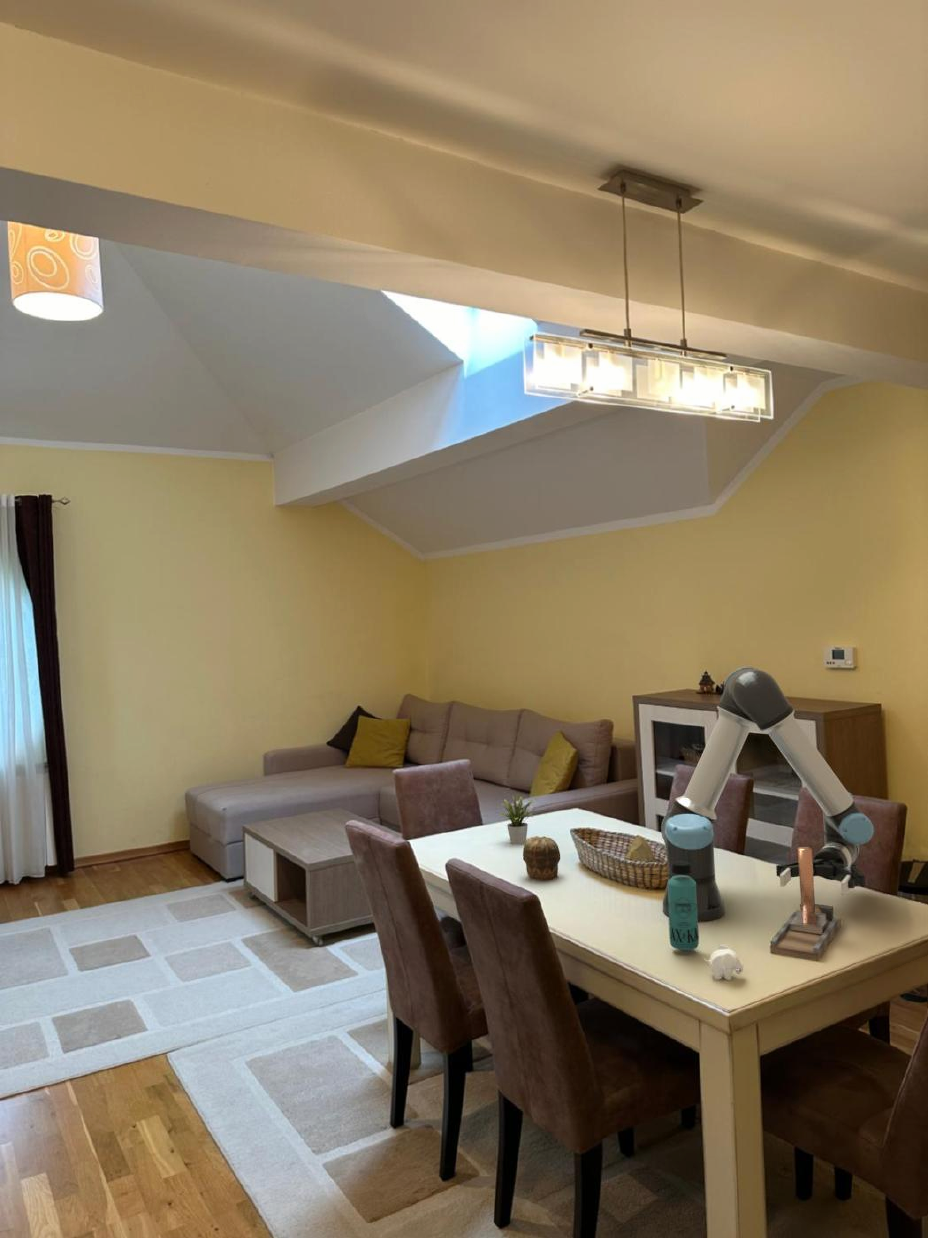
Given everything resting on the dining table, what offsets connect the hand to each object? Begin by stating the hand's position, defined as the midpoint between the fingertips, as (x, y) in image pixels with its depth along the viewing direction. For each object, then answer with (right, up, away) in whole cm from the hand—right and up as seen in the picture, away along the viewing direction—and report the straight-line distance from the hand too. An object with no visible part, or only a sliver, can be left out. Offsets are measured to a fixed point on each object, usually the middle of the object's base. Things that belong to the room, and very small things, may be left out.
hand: (811, 884), depth 199 cm
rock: (-28, -13, +56) cm, 64 cm away
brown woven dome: (-58, -15, +54) cm, 81 cm away
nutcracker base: (-2, -11, -4) cm, 12 cm away
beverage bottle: (-31, -13, -7) cm, 35 cm away
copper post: (-1, -9, -2) cm, 10 cm away
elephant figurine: (-27, -13, -22) cm, 37 cm away
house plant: (-62, -15, +94) cm, 114 cm away
